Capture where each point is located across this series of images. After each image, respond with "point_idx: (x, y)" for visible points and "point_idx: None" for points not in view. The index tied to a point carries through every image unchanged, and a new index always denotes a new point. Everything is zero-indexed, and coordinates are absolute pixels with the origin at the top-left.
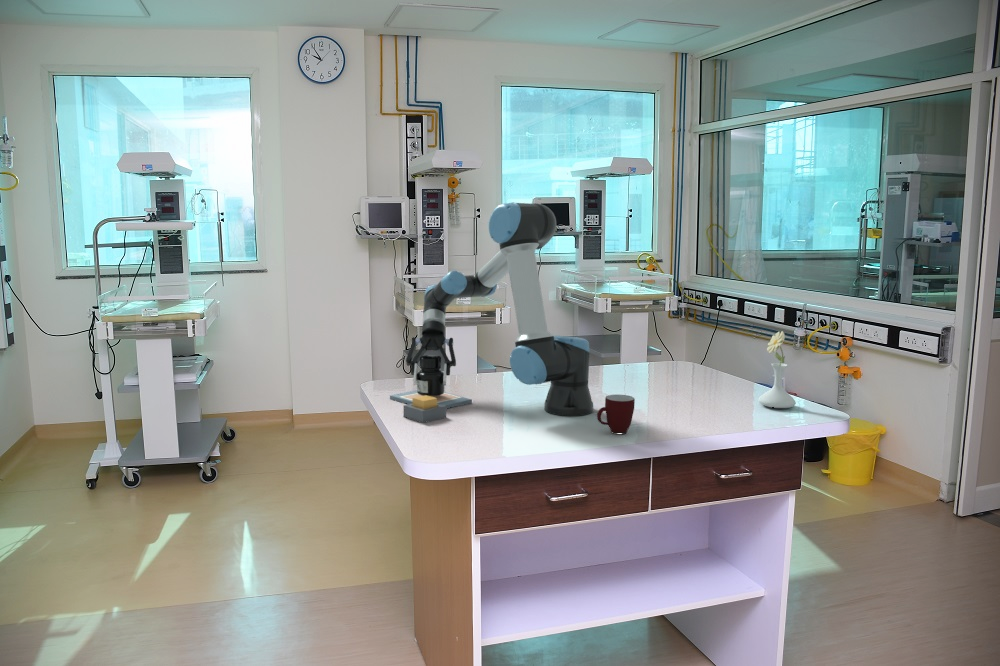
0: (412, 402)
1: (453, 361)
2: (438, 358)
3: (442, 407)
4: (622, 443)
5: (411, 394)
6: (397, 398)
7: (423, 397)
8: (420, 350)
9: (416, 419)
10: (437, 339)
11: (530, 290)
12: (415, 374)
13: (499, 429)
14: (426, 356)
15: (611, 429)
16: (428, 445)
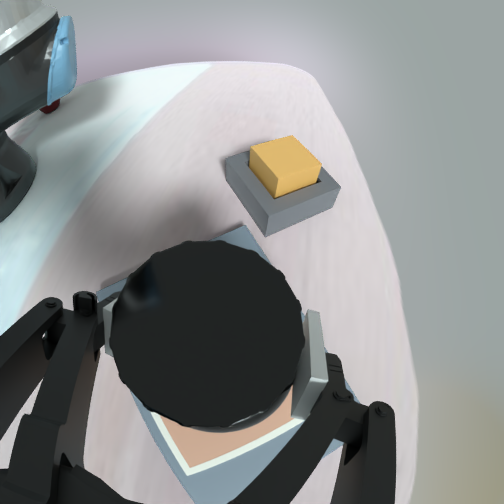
0: (303, 315)
1: (57, 302)
2: (155, 253)
3: (237, 155)
4: (80, 86)
5: (292, 424)
6: (348, 388)
7: (289, 160)
8: (282, 487)
9: None
10: (12, 498)
11: None
12: (312, 328)
13: (161, 113)
14: (234, 369)
15: (59, 101)
16: (290, 89)
